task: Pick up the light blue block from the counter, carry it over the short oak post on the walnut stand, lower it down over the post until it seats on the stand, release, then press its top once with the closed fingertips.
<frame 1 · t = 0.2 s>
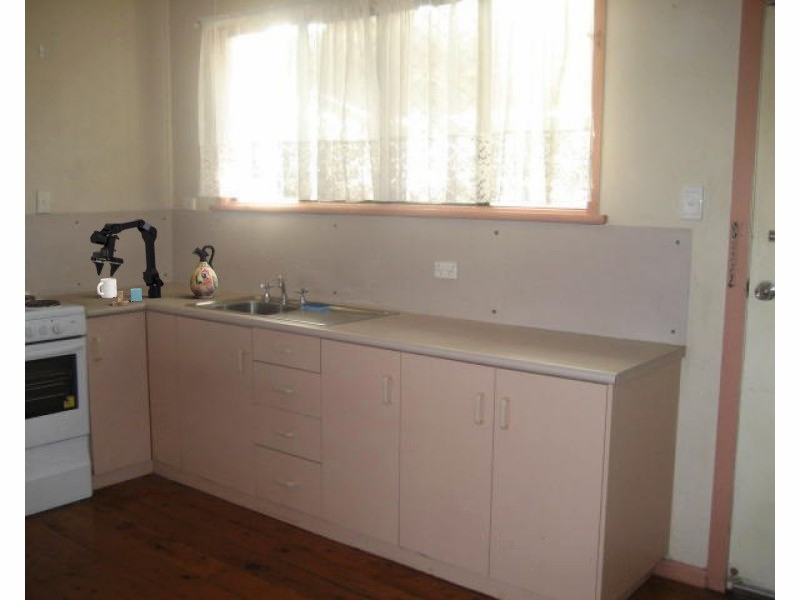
hand: (104, 276, 419), 15 cm above the worktop, tool pointing down, fingers open, 9 cm apart
ceramic jug: (205, 298, 448), on the worktop
mug: (106, 298, 447), on the worktop
light blue block: (136, 301, 434), on the worktop
stand: (120, 304, 421), on the worktop
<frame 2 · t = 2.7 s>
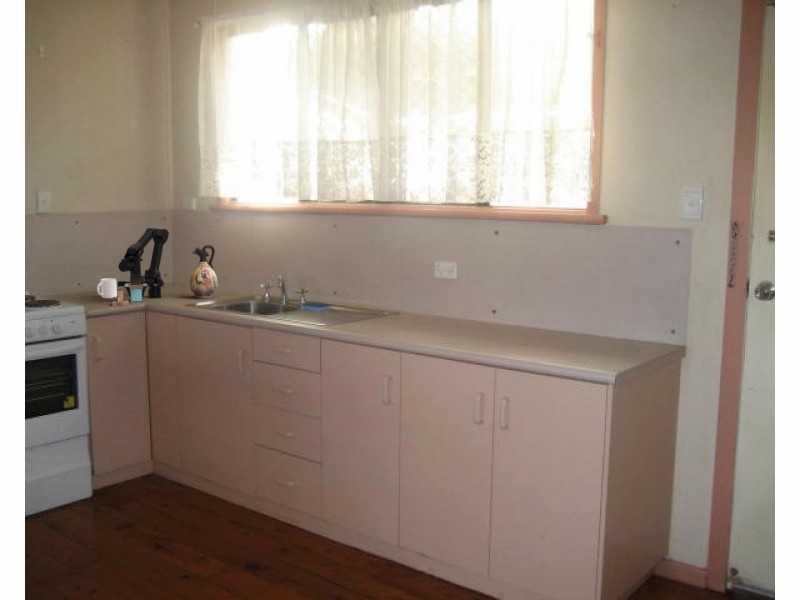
hand: (136, 298, 434), 1 cm above the worktop, tool pointing down, fingers closed on light blue block, 6 cm apart
light blue block: (136, 301, 434), on the worktop, touching gripper
everything else where it was.
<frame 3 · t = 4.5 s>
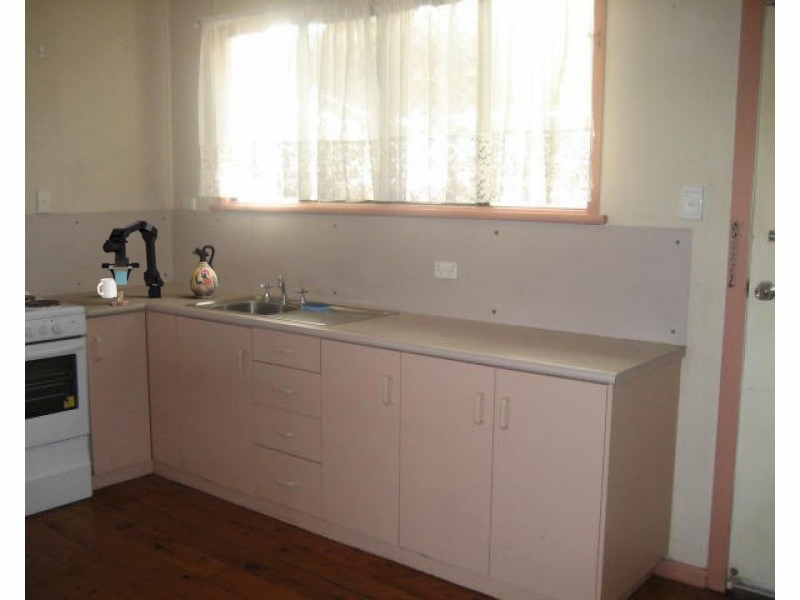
hand: (121, 281, 421), 12 cm above the worktop, tool pointing down, fingers closed on light blue block, 6 cm apart
light blue block: (121, 284, 421), point 11 cm above the worktop, touching gripper
everything else where it was.
when the fingers open (3 cm above the worktop, at t = 6.6 s): light blue block stays where it is, resting on stand.
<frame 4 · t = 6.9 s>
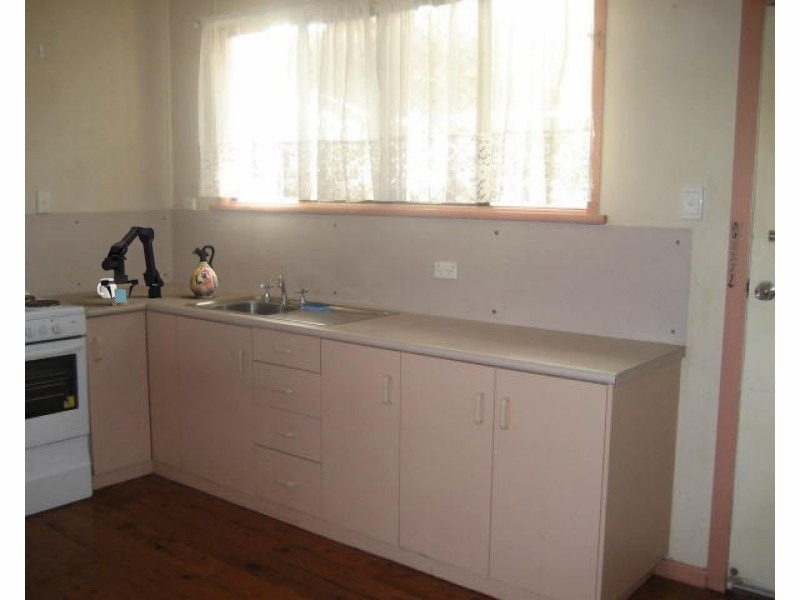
hand: (120, 298, 421), 3 cm above the worktop, tool pointing down, fingers open, 8 cm apart
light blue block: (120, 301, 421), point 1 cm above the worktop, touching stand
everything else where it was.
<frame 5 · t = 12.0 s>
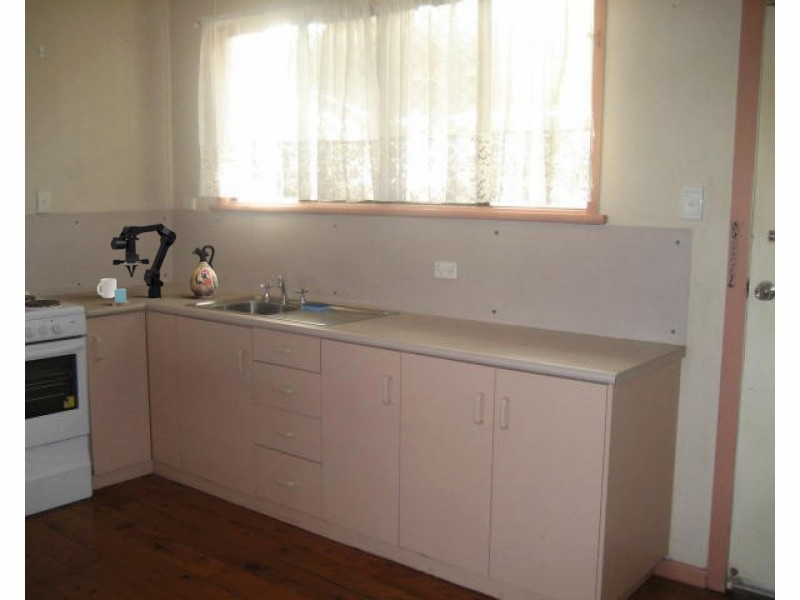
hand: (131, 277, 436), 13 cm above the worktop, tool pointing down, fingers closed
nothing on the worktop moved.
at the end: light blue block 0.0 cm from the stand (horizontally); light blue block point 1.5 cm above the worktop; the gripper is holding nothing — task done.
